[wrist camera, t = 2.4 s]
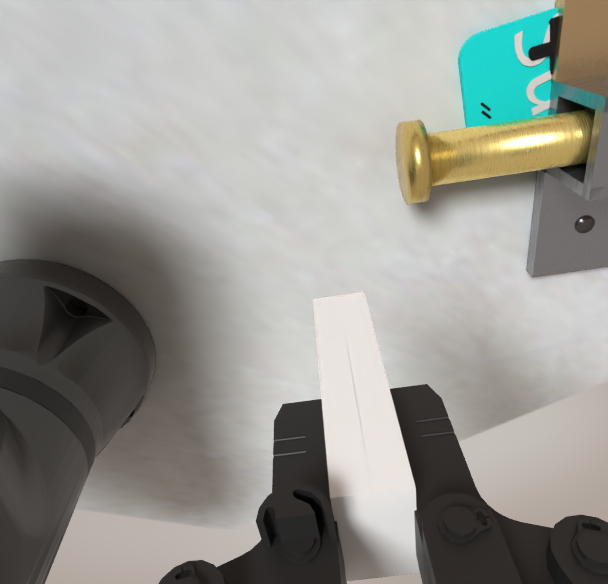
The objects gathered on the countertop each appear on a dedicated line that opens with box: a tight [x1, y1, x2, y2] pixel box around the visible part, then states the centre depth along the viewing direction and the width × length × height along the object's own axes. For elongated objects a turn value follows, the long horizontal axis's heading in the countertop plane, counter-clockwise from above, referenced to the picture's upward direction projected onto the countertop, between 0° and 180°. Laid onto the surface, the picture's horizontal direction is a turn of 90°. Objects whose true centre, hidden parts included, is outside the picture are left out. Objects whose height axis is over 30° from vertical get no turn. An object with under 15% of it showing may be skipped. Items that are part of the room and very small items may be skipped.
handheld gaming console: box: [458, 8, 559, 128], centre depth 28 cm, size 8×1×15 cm
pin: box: [396, 109, 595, 204], centre depth 26 cm, size 20×4×4 cm, turn 98°
